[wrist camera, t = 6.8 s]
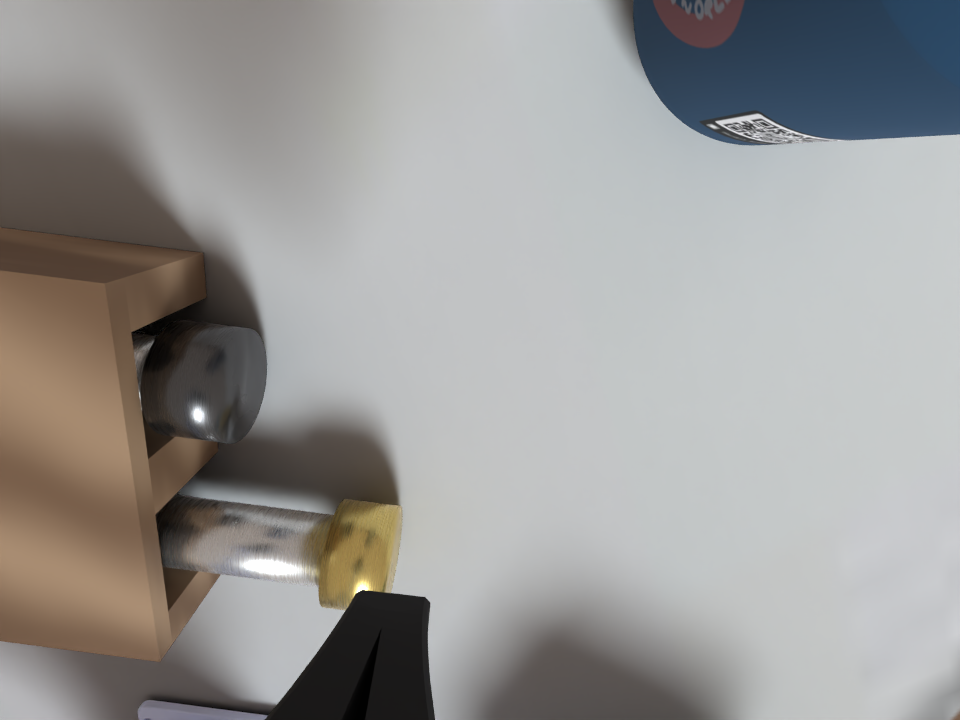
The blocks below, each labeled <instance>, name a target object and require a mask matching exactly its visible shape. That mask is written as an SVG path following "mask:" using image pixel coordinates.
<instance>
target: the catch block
mask: <svg viewBox="0 0 960 720" xmlns="http://www.w3.org/2000/svg"><path fill="white" fill-rule="evenodd" d="M206 297H207V295H206V282H205V268H204V255H203V253H200V252H192V251H184V250H176V249H168V248H160V247H152V246H144V245H136V244H128V243H120V242H112V241H104V240H96V239H88V238H80V237H72V236H64V235H56V234H48V233H40V232H32V231H24V230H16V229H8V228H0V641H4V642H12V643H19V644H27V645H35V646H42V647H50V648H58V649H65V650H73V651H80V652H88V653H96V654H103V655H111V656H119V657H126V658H134V659H141V660H149V661H157V662H160V661H161V660H162V658H163V657H164V656H165V654H166V653H167V651H168V650H169V648H170V647H171V645H172V644H173V643H174V641H175V640H176V638H177V637H178V635H179V634H180V632H181V631H182V630H183V628H184V627H185V625H186V624H187V622H188V621H189V619H190V618H191V617H192V615H193V614H194V612H195V611H196V609H197V608H198V606H199V605H200V604H201V602H202V601H203V599H204V598H205V596H206V595H207V593H208V592H209V591H210V589H211V588H212V586H213V585H214V583H215V582H216V580H217V579H218V578H219V576H220V575H221V574H214V573H207V572H199V571H191V570H184V569H176V568H168V567H162V561H161V553H160V546H159V538H158V531H157V523H156V516H155V514H156V513H157V512H158V511H159V510H160V509H161V508H162V507H163V506H164V505H165V504H166V503H167V502H168V501H169V500H170V499H171V498H172V497H173V496H174V495H175V494H176V493H177V492H178V491H179V490H180V489H181V488H182V487H183V486H184V485H185V484H186V483H187V482H188V481H189V480H190V479H191V478H192V477H193V476H194V475H195V474H196V473H197V472H198V471H199V470H200V469H201V468H202V467H203V466H204V465H205V464H206V463H207V462H208V461H209V460H210V459H211V458H212V457H213V456H214V455H215V454H216V453H217V452H218V442H213V441H205V440H197V439H189V438H181V437H174V436H166V435H161V434H158V433H156V432H155V431H153V429H152V428H151V427H150V426H149V425H148V423H147V421H146V419H145V417H144V414H143V412H142V410H141V402H140V395H139V387H138V379H137V372H136V364H135V357H134V349H133V342H132V334H131V332H133V331H135V330H137V329H139V328H141V327H144V326H146V325H148V324H150V323H152V322H154V321H157V320H159V319H161V318H163V317H165V316H167V315H170V314H172V313H174V312H176V311H178V310H180V309H183V308H185V307H187V306H189V305H191V304H193V303H196V302H198V301H200V300H202V299H204V298H206Z"/></svg>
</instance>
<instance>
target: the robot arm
mask: <svg viewBox="0 0 960 720" xmlns="http://www.w3.org/2000/svg"><path fill="white" fill-rule="evenodd" d="M429 612H430V602H429V601H428V600H427V599H426V598H425V597H418V596H410V595H402V594H394V593H386V592H377V591H369V590H361V591H359V592H357V593H356V594H355V596H354V598H353V599H352V601H351V603H350V604H349V606H348V608H347V609H346V611H345V612H344V614H343V616H342V617H341V619H340V620H339V622H338V623H337V625H336V626H335V628H334V629H333V631H332V632H331V634H330V635H329V637H328V638H327V639H326V641H325V642H324V644H323V645H322V647H321V648H320V649H319V651H318V652H317V654H316V655H315V656H314V658H313V659H312V660H311V662H310V663H309V664H308V666H307V667H306V668H305V670H304V671H303V672H302V673H301V675H300V676H299V677H298V679H297V680H296V681H295V683H294V684H293V685H292V687H291V688H290V689H289V691H288V692H287V693H286V694H285V696H284V697H283V698H282V699H281V701H280V702H279V703H278V704H277V705H276V707H275V708H274V709H273V710H272V711H271V713H270V714H269V715H262V714H254V713H246V712H239V711H231V710H224V709H216V708H208V707H201V706H193V705H186V704H178V703H170V702H163V701H155V700H147V701H144V702H143V703H142V704H141V706H140V707H139V709H138V712H137V713H138V718H139V720H435V716H434V708H433V700H432V692H431V684H430V674H429V660H428V623H429Z"/></svg>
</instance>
